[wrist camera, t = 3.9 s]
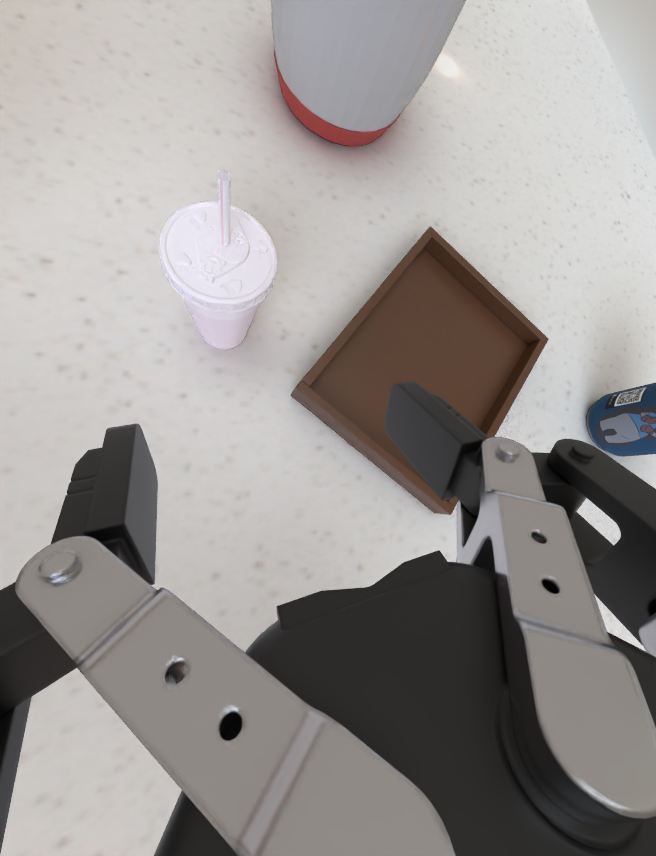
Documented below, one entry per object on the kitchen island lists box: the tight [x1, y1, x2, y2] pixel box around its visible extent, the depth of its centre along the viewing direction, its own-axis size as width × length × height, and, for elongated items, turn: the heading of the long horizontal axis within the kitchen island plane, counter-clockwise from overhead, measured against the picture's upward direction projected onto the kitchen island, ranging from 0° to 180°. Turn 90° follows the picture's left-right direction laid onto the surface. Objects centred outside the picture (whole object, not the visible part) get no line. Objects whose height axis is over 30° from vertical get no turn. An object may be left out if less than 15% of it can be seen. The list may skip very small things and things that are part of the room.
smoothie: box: [159, 170, 277, 349], centre depth 21 cm, size 6×6×14 cm
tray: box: [291, 227, 548, 515], centre depth 32 cm, size 22×17×2 cm
